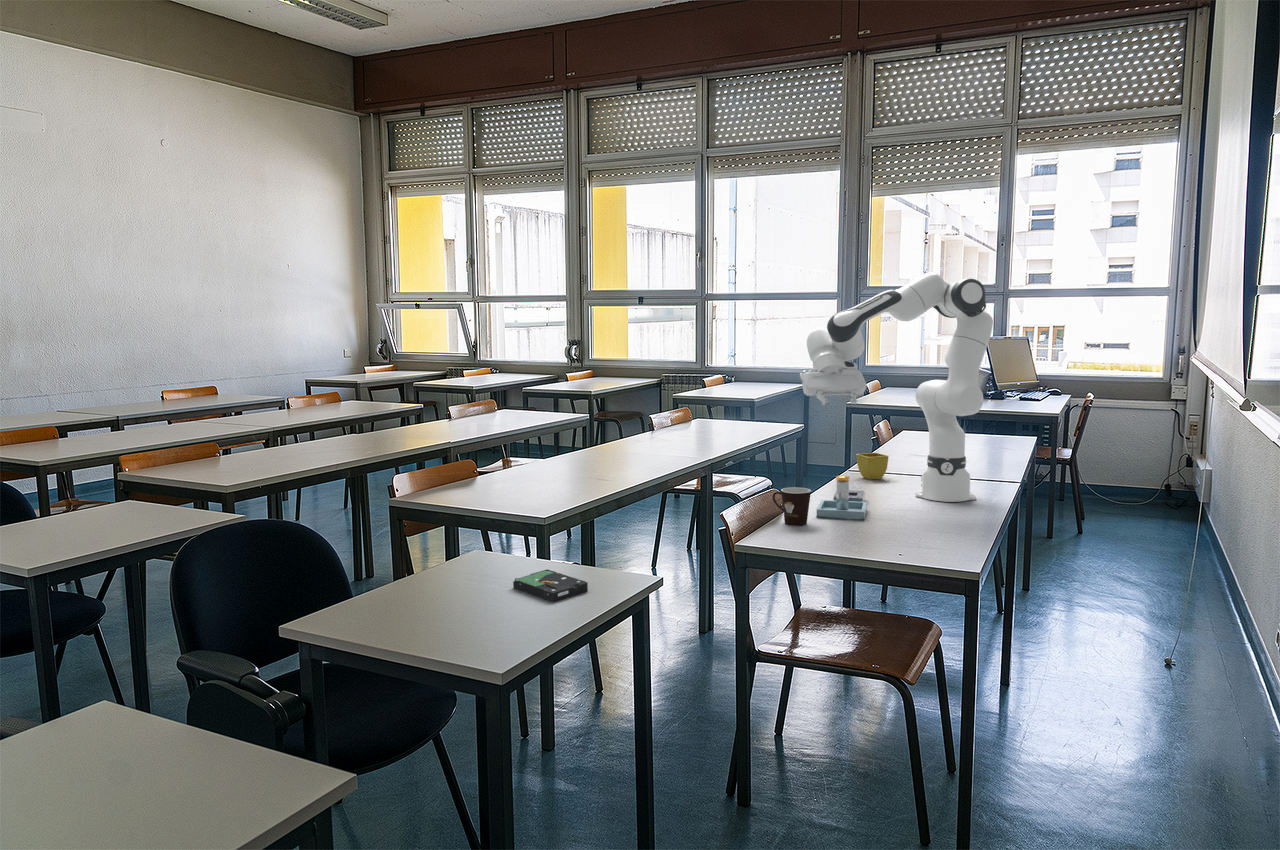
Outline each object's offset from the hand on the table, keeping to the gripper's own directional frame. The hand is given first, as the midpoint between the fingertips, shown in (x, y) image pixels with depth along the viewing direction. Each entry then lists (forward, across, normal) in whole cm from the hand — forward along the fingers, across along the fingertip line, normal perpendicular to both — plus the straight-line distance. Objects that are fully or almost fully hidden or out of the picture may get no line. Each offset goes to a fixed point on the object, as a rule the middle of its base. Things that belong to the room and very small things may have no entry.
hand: (840, 403), depth 266 cm
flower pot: (-7, +31, +54) cm, 63 cm away
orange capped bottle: (+29, -2, +17) cm, 34 cm away
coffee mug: (+35, -21, +13) cm, 42 cm away
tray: (+30, -2, +18) cm, 35 cm away
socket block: (+20, +6, +28) cm, 34 cm away
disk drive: (+70, -95, -21) cm, 120 cm away
